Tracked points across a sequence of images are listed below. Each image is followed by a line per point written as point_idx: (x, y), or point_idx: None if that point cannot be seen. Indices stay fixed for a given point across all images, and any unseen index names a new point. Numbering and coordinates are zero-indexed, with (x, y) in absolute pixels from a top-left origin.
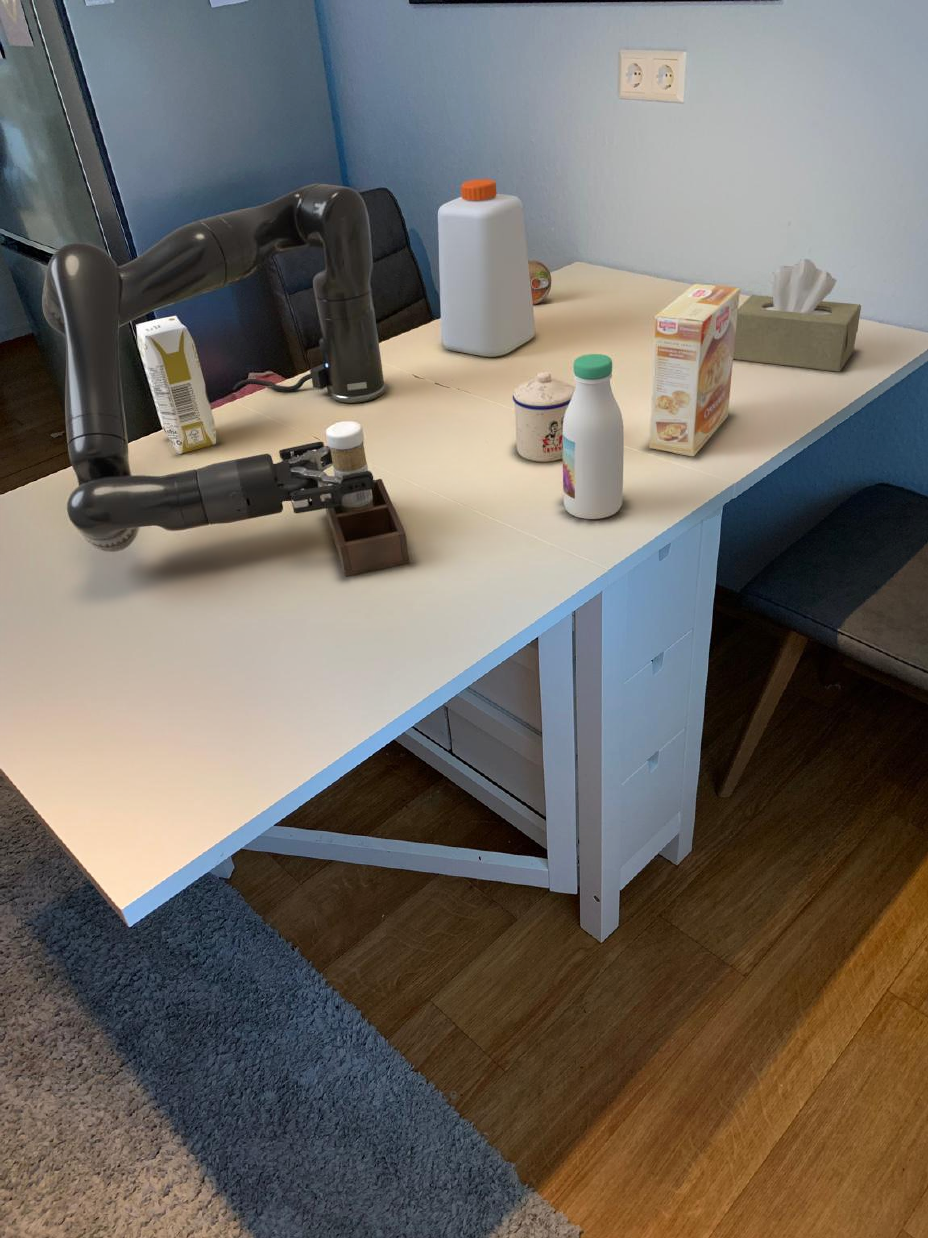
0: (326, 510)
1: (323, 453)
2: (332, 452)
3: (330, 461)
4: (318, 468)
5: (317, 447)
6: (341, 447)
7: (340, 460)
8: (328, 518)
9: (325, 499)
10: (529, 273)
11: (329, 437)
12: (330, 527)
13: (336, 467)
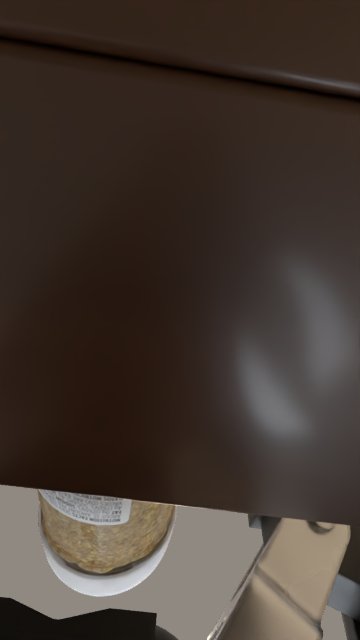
0: (336, 374)
1: (241, 581)
2: (71, 551)
3: (277, 519)
4: (224, 617)
5: (349, 618)
6: (38, 521)
7: (42, 506)
8: (199, 274)
9: (150, 498)
10: None
11: (62, 581)
12: (89, 29)
13: (55, 512)
